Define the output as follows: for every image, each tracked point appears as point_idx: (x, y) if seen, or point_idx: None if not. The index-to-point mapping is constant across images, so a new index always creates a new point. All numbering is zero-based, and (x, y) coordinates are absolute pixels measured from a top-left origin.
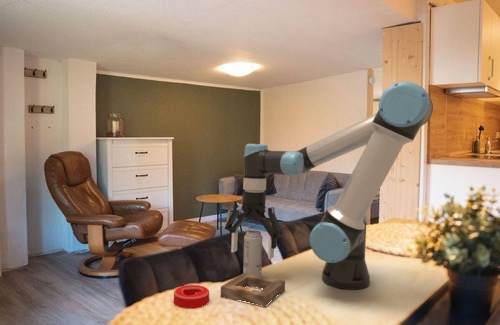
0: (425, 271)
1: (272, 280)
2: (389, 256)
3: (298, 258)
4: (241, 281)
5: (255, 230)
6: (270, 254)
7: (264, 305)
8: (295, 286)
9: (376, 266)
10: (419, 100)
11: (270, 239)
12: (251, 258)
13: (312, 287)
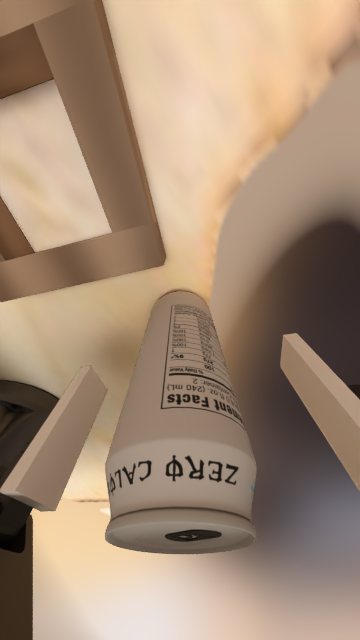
0: None
1: (23, 274)
2: (91, 496)
3: None
4: (84, 156)
5: (202, 553)
6: (69, 385)
7: None
8: (46, 333)
9: None
10: None
11: (6, 486)
12: (156, 332)
13: (20, 353)
